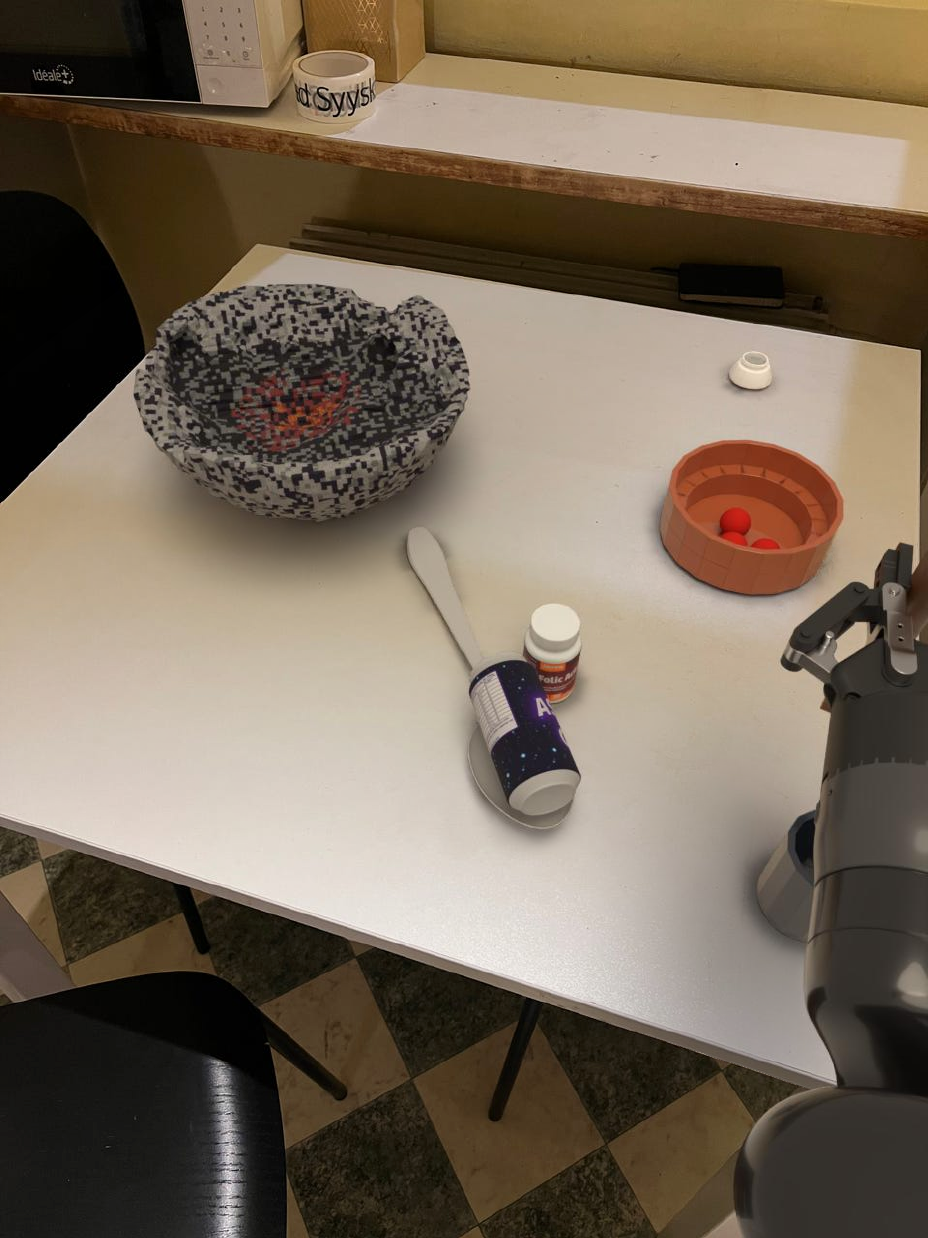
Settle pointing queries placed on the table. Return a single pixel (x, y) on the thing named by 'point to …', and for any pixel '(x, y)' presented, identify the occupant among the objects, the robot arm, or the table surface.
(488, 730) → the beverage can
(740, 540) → the tomato
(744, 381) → the lidless jar
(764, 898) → the holder
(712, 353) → the table surface
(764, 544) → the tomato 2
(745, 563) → the stew bowl
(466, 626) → the spoon
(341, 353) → the bowl
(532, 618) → the pill bottle
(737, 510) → the red ball
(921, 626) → the stick
